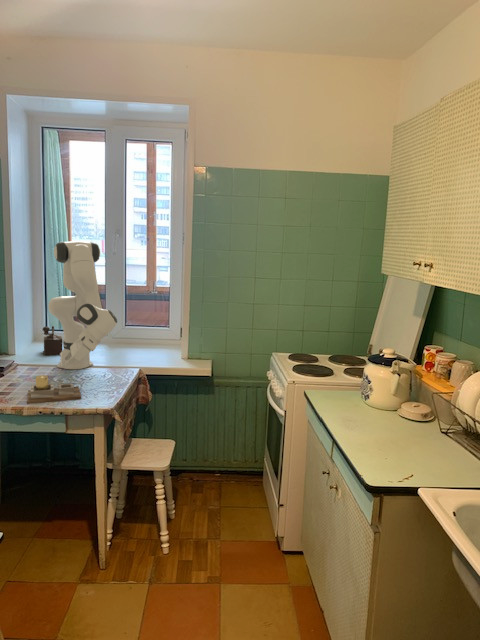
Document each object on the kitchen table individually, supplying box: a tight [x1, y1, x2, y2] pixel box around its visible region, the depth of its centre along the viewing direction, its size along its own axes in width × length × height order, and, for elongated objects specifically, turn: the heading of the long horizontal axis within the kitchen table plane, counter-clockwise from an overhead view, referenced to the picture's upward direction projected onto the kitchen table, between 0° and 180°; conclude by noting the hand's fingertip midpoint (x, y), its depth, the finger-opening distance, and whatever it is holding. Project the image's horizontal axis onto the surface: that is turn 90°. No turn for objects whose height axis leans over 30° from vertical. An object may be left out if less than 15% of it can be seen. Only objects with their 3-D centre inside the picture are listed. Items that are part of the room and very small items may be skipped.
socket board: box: [26, 383, 82, 405], centre depth 217 cm, size 15×22×4 cm
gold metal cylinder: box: [35, 374, 49, 391], centre depth 215 cm, size 5×5×8 cm
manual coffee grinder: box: [42, 325, 63, 356], centre depth 289 cm, size 16×11×18 cm
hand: (65, 362), depth 217 cm, fingers open, 8 cm apart
